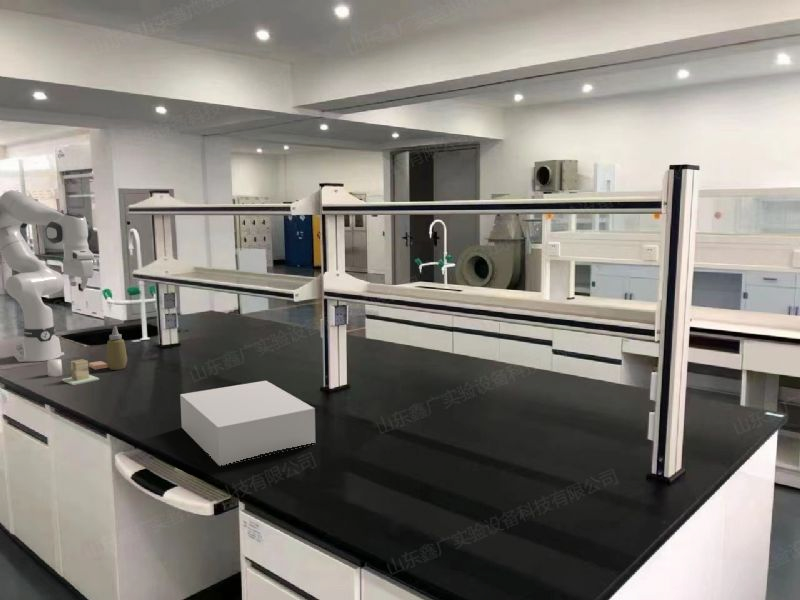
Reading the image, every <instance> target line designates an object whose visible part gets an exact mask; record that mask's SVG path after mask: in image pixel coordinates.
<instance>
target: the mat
mask: <svg viewBox="0 0 800 600" xmlns="http://www.w3.org/2000/svg"><path fill="white" fill-rule="evenodd" d="M99 380H100V378H99V377H97V376H94V375H92V374H89V379H84V380H79V381H76V380H74V379H72V376H71V377H67V378H62V379H61V381H62V382H64V383H67V384H69V385H71V386H75V385H81V384H85V383H92V382H95V381H99Z"/></svg>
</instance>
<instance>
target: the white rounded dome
mask: <svg viewBox="0 0 800 600" xmlns="http://www.w3.org/2000/svg"><path fill="white" fill-rule="evenodd" d="M46 365H47V375H48V377H50V378H52V377H59V376H63V364H62V359H61V358H56V359H51V360H46Z"/></svg>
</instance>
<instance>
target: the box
mask: <svg viewBox="0 0 800 600" xmlns="http://www.w3.org/2000/svg"><path fill="white" fill-rule="evenodd" d="M179 396H180V416H181V417H180V418H181V421H180V422H181V429H183V430H184V431H185V432H186V434H187V435H188V436H189V437H190V438H191V439H193V441H194V442H195V443H196V444H197V445H198V446H199V447H200V448H201V449H202V450H203V451H204V452H206V454H207V453H208V454H209V455H208V454H207V455H208V456H209V457H210V456H211V457H210V458H211V459H212V460H213V461H214V462H215V463H216V464H217V466H220V467H222V466H226V464H227V465H230V464H229V463H231V464H234V463H233V462H235V463H237V462H236V461H239V462H241V461H240V460H243V459H246V458H251V457H254V456H258V455H260V454H265V453H269V452H273V451H277V450H282V449H286V448H292V447H297V446H301V445H306V444H311V443H315V444H316V411H315V410H316V408H315V407H314V406H311V405H309V403H306V402H304V400H303V401H302V399H299V398H298V397H296V396H294V395H292V394H291V393H289V392H287V391H285V390H283V389H282V388H280V387H278V386H276V385H275V384H273V383H271V382H269V380H262V381H255V382H249V383H241V384H236V385H231V386H224V387H218V388H211V389H205V390H198V391H192V392H186V393H181V394H179ZM221 465H222V466H221Z"/></svg>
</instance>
